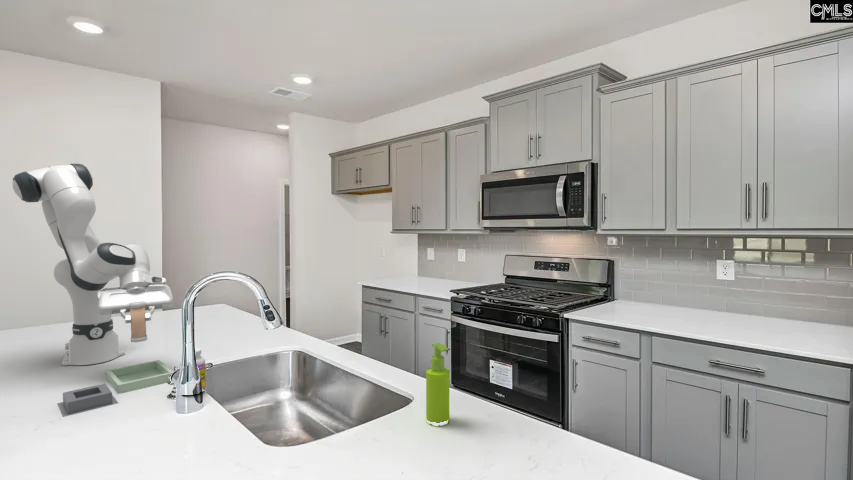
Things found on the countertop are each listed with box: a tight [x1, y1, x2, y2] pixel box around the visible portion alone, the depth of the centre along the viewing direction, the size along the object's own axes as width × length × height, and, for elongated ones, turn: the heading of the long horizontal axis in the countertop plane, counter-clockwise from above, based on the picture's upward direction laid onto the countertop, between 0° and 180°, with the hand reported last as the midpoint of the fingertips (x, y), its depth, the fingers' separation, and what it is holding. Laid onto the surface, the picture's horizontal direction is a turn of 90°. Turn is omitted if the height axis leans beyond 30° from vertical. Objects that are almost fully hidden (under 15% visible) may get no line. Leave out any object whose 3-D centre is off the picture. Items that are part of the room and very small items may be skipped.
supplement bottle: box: [179, 347, 207, 392], centre depth 132 cm, size 7×7×13 cm
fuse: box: [129, 301, 148, 343], centre depth 140 cm, size 4×4×12 cm
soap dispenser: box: [425, 342, 450, 423], centre depth 112 cm, size 6×7×20 cm
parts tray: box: [105, 359, 174, 394], centre depth 141 cm, size 18×15×4 cm
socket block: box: [56, 383, 119, 418], centre depth 123 cm, size 12×12×4 cm
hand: (138, 320), depth 140 cm, fingers closed on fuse, 4 cm apart
